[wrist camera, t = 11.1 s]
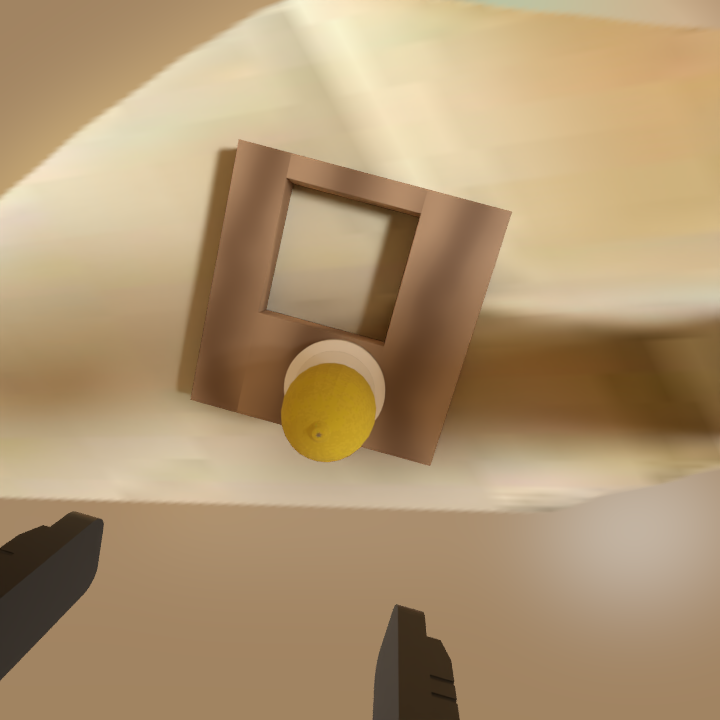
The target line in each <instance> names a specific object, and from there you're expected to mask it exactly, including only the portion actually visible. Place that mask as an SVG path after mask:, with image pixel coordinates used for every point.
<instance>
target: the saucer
mask: <svg viewBox="0 0 720 720" xmlns="http://www.w3.org/2000/svg"><path fill="white" fill-rule="evenodd" d="M322 363H338V364H343V365H346V366H348V367H350V368H353V369H355V370H356V371H357V372H358V373H360V374H361V375H362V376H363V377H364V378H365V380H366V381H367V382H368V384H369V385H370V387H371V389H372V392H373V394H374V397H375V404H376V415H375V420H376V418H377V417H378V416H379V414H380V412H381V410H382V407H383V404H384V399H385V380H384V375H383V372H382V370H381V368H380V366H379V364H378V362H377V361H376V359H375V358H374V357H373V356H372V355H371V354H370V353H369V352H368V351H367V350H366V349H364V348H363V347H361V346H360V345H358V344H356V343H354V342H351V341H348V340H343V339H326V340H321V341H318V342H315V343H313V344H311V345H310V346H308V347H307V348H305V349H304V350H303V351H302V352H300V353H299V354H298V355H297V356H296V357H295V359H294V360H293V361H292V363H291V364H290V366H289V368H288V370H287V373H286V376H285V381H284V396H285V394H286V392H287V390H288V388H289V386H290V384H291V383H292V382H293V381H294V380H295V379H296V378H297V376H298V375H299V374H301V373H302V372H304V371H305V370H307V369H308V368H310V367H313V366H316V365H319V364H322Z"/></svg>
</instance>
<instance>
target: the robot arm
mask: <svg viewBox="0 0 720 720" xmlns="http://www.w3.org/2000/svg"><path fill="white" fill-rule="evenodd" d="M103 525H104V523H103V520H102V519H99V518H96V517H92V516H89V515H86V514H82V513H78V512H71V513H68V514H67V515H66V516H64V517H63V518H62V519H60V520H59V521H58V522H56V523H55V524H53V525H52V526H51V527H47V526H44V525H43V526H40V527H38V528H35V529H32V530H30V531H27V532H25V533H22V534H20V535H18V536H16V537H15V538H14V539H12V540H11V541H9V542H8V543H6V544H5V545H4V546H2V547H1V548H0V680H1V679H2V678H3V677H4V676H5V675H6V674H7V673H8V672H9V671H10V670H11V669H12V668H13V667H14V666H15V665H16V664H17V662H19V661H20V660H21V658H22V657H23V656H24V655H25V654H26V653H27V652H28V651H29V650H30V649H31V648H32V647H33V646H34V645H35V644H36V643H37V642H38V641H39V640H40V639H41V638H42V637H43V636H44V635H45V634H46V633H47V632H48V630H49V629H50V628H51V627H52V626H53V625H54V624H55V623H56V622H57V621H58V620H59V619H60V618H61V617H62V616H63V615H64V614H65V613H66V612H67V611H68V610H69V609H70V608H71V606H73V604H75V603H76V601H77V600H78V599H79V598H80V597H81V596H82V595H83V594H84V593H85V592H86V591H87V589H88V588H89V586H90V584H91V583H92V581H93V579H94V577H95V574H96V571H97V567H98V561H99V554H100V547H101V540H102V534H103ZM425 625H426V624H425V615H424V612H422V611H418V610H415V609H411V608H407V607H404V606H401V605H397V604H396V605H395V607H394V609H393V612H392V615H391V618H390V621H389V624H388V627H387V630H386V633H385V636H384V639H383V643H382V646H381V649H380V652H379V656H378V660H377V666H376V673H375V683H374V703H373V720H460V719H459V712H458V705H457V704H456V700H457V698H456V691H455V686H454V677H453V670H452V663H451V659H450V657H449V656H448V654H447V652H446V650H445V648H444V646H443V644H442V642H441V640H438V639H434V638H431V637H427V636H426V626H425Z"/></svg>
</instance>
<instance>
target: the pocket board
mask: <svg viewBox="0 0 720 720" xmlns="http://www.w3.org/2000/svg"><path fill="white" fill-rule="evenodd" d="M293 184H297V185H301V186H304V187H308V188H312V189H316V190H319V191H323V192H327V193H331V194H334V195H338V196H342V197H346V198H349V199H353V200H357V201H361V202H364V203H368V204H372V205H376V206H379V207H383V208H387V209H391V210H394V211H398V212H402V213H406V214H409V215H413V216H417V217H419V220H418V224H417V227H416V231H415V234H414V238H413V242H412V245H411V249H410V252H409V256H408V260H407V263H406V267H405V270H404V274H403V277H402V281H401V285H400V288H399V292H398V295H397V299H396V303H395V306H394V310H393V313H392V317H391V320H390V324H389V328H388V331H387V335H386V338H385V342H383V341H379V340H375V339H372V338H368V337H364V336H361V335H357V334H353V333H350V332H346V331H342V330H339V329H335V328H331V327H328V326H324V325H320V324H316V323H313V322H309V321H305V320H302V319H298V318H294V317H291V316H287V315H283V314H280V313H276V312H272V311H269V310H266V308H267V303H268V299H269V294H270V289H271V285H272V280H273V275H274V271H275V266H276V261H277V257H278V252H279V247H280V243H281V238H282V234H283V229H284V224H285V220H286V215H287V210H288V206H289V201H290V196H291V192H292V187H293ZM511 213H512V212H511V211H507V210H503V209H500V208H496V207H492V206H488V205H485V204H481V203H477V202H473V201H469V200H466V199H462V198H458V197H454V196H451V195H447V194H443V193H439V192H436V191H432V190H428V189H424V188H420V187H417V186H413V185H409V184H405V183H402V182H398V181H394V180H390V179H387V178H383V177H379V176H375V175H371V174H368V173H364V172H360V171H356V170H353V169H349V168H345V167H341V166H338V165H334V164H330V163H326V162H322V161H319V160H315V159H311V158H307V157H304V156H300V155H296V154H292V153H289V152H285V151H281V150H277V149H273V148H270V147H266V146H262V145H258V144H255V143H251V142H247V141H243V140H240V139H239V142H238V147H237V152H236V158H235V163H234V169H233V174H232V179H231V185H230V190H229V195H228V201H227V206H226V212H225V217H224V222H223V228H222V233H221V238H220V244H219V249H218V255H217V260H216V265H215V271H214V276H213V281H212V287H211V292H210V298H209V303H208V308H207V314H206V319H205V324H204V330H203V335H202V340H201V346H200V351H199V357H198V362H197V367H196V373H195V378H194V383H193V389H192V394H191V400H194V401H198V402H201V403H205V404H209V405H212V406H216V407H219V408H223V409H227V410H230V411H234V412H237V413H241V414H245V415H248V416H252V417H256V418H259V419H263V420H266V421H270V422H274V423H277V424H281V425H282V421H281V409H282V404H283V399H284V381H285V376H286V373H287V370H288V368H289V366H290V364H291V363H292V361H293V360H294V359H295V357H296V356H297V355H298V354H299V353H300V352H302V351H303V350H304V349H305V348H307V347H308V346H310V345H311V344H313V343H315V342H318V341H321V340H326V339H343V340H348V341H351V342H354V343H356V344H358V345H360V346H361V347H363V348H364V349H366V350H367V351H368V352H369V353H370V354H371V355H372V356H373V357H374V358H375V359H376V361H377V362H378V364H379V366H380V368H381V370H382V372H383V375H384V380H385V399H384V404H383V407H382V410H381V412H380V414H379V416H378V417H377V418H376V420H375V423H374V425H373V428H372V430H371V433H370V435H369V437H368V438H367V439H366V441H365V442H364V443H363V445H362V446H361V447H364V448H368V449H371V450H375V451H378V452H382V453H386V454H389V455H393V456H396V457H400V458H404V459H407V460H411V461H415V462H418V463H422V464H425V465H429V466H430V465H431V461H432V458H433V455H434V452H435V449H436V446H437V443H438V440H439V437H440V434H441V430H442V427H443V424H444V421H445V418H446V415H447V412H448V409H449V406H450V403H451V399H452V396H453V393H454V390H455V387H456V384H457V381H458V378H459V375H460V372H461V368H462V365H463V362H464V359H465V356H466V353H467V350H468V347H469V344H470V341H471V337H472V334H473V331H474V328H475V325H476V322H477V319H478V316H479V313H480V309H481V306H482V303H483V300H484V297H485V294H486V291H487V288H488V285H489V282H490V278H491V275H492V272H493V269H494V266H495V263H496V260H497V257H498V254H499V251H500V247H501V244H502V241H503V238H504V235H505V232H506V229H507V226H508V223H509V220H510V216H511Z"/></svg>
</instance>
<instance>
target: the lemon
mask: <svg viewBox="0 0 720 720" xmlns="http://www.w3.org/2000/svg"><path fill="white" fill-rule="evenodd" d="M375 415H376V404H375V397H374V394H373V392H372V389H371V387H370V385H369V384H368V382H367V381H366V380H365V378H364V377H363V376H362V375H361V374H360V373H358V372H357V371H356V370H355V369H353V368H350V367H348V366H346V365H343V364H338V363H322V364H319V365H316V366H313V367H310V368H308V369H307V370H305V371H304V372H302V373H301V374H299V375H298V376H297V378H296V379H295V380H294V381H293V382H292V383H291V384H290V386H289V388H288V390H287V392H286V394H285V396H284V399H283V404H282V409H281V421H282V427H283V430H284V433H285V436H286V438H287V439H288V441H289V442H290V444H291V446H292V447H293V448H294V449H295V450H296V451H297V452H298V453H300V454H302V455H303V456H305V457H307V458H309V459H312V460H315V461H321V462H331V461H337V460H341V459H343V458H345V457H348V456H350V455H351V454H352V453H354V452H355V451H356V450H358V449H359V448H360V447H361V446H362V445H363V443H364V442H365V441H366V439H367V438H368V437H369V435H370V433H371V430H372V428H373V425H374V423H375Z"/></svg>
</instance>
